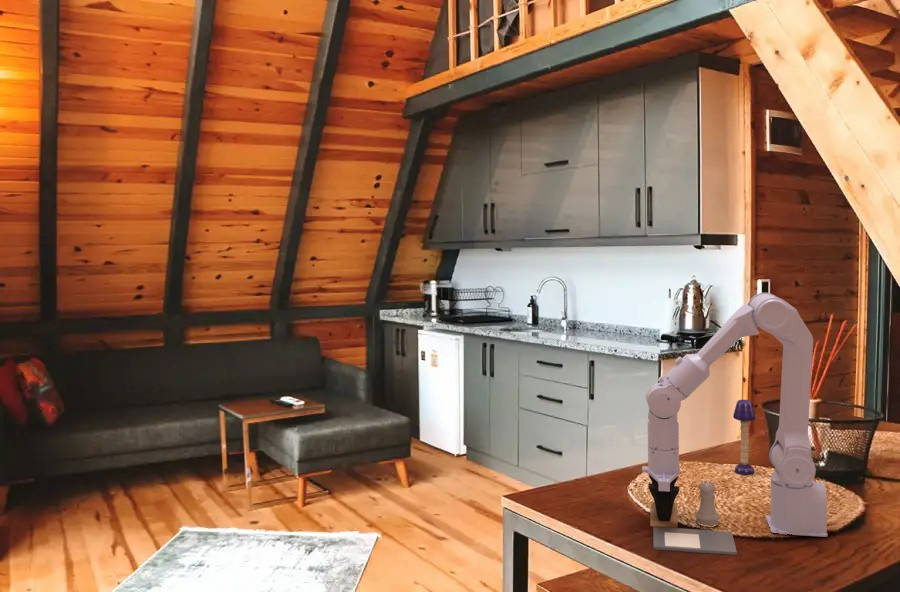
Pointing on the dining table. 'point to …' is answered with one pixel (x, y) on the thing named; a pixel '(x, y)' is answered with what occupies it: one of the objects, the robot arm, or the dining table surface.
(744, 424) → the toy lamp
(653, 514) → the oak block
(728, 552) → the slate board
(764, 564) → the dining table surface
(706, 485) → the rook chess piece
